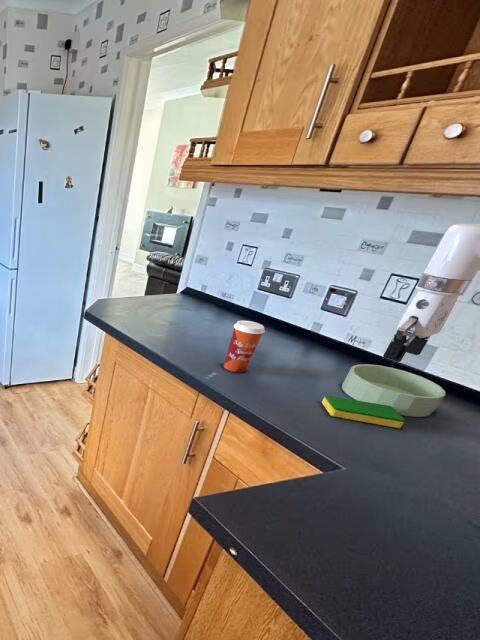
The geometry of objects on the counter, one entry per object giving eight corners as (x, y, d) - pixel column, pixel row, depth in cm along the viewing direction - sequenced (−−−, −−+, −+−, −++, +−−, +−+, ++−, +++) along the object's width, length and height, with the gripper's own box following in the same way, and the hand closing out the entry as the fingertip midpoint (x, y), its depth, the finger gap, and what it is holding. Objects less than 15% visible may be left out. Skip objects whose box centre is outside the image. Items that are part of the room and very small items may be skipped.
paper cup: (223, 372, 122) (240, 327, 115) (216, 361, 128) (231, 318, 122) (252, 375, 120) (271, 330, 114) (244, 364, 127) (260, 321, 120)
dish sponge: (400, 429, 98) (406, 420, 97) (330, 416, 102) (335, 408, 101) (386, 414, 104) (391, 405, 102) (320, 402, 108) (325, 394, 107)
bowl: (446, 407, 107) (459, 389, 104) (411, 423, 100) (424, 404, 97) (363, 376, 121) (372, 360, 119) (327, 388, 114) (336, 371, 112)
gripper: (448, 293, 84) (402, 369, 92) (483, 284, 91) (438, 356, 99) (401, 284, 90) (363, 356, 98) (437, 276, 96) (398, 344, 105)
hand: (400, 356), depth 98 cm, fingers open, 8 cm apart
